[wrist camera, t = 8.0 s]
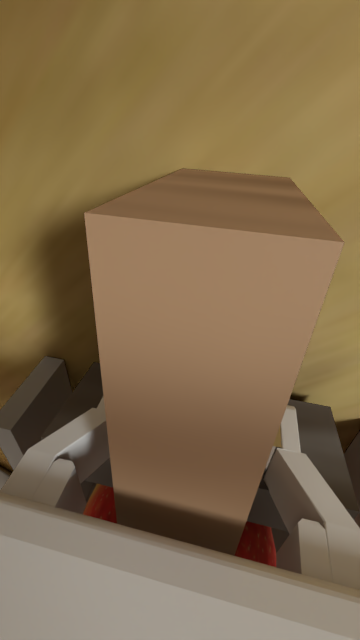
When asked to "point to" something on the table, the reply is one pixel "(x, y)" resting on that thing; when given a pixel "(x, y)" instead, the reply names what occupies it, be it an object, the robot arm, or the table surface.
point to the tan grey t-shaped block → (205, 350)
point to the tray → (49, 397)
